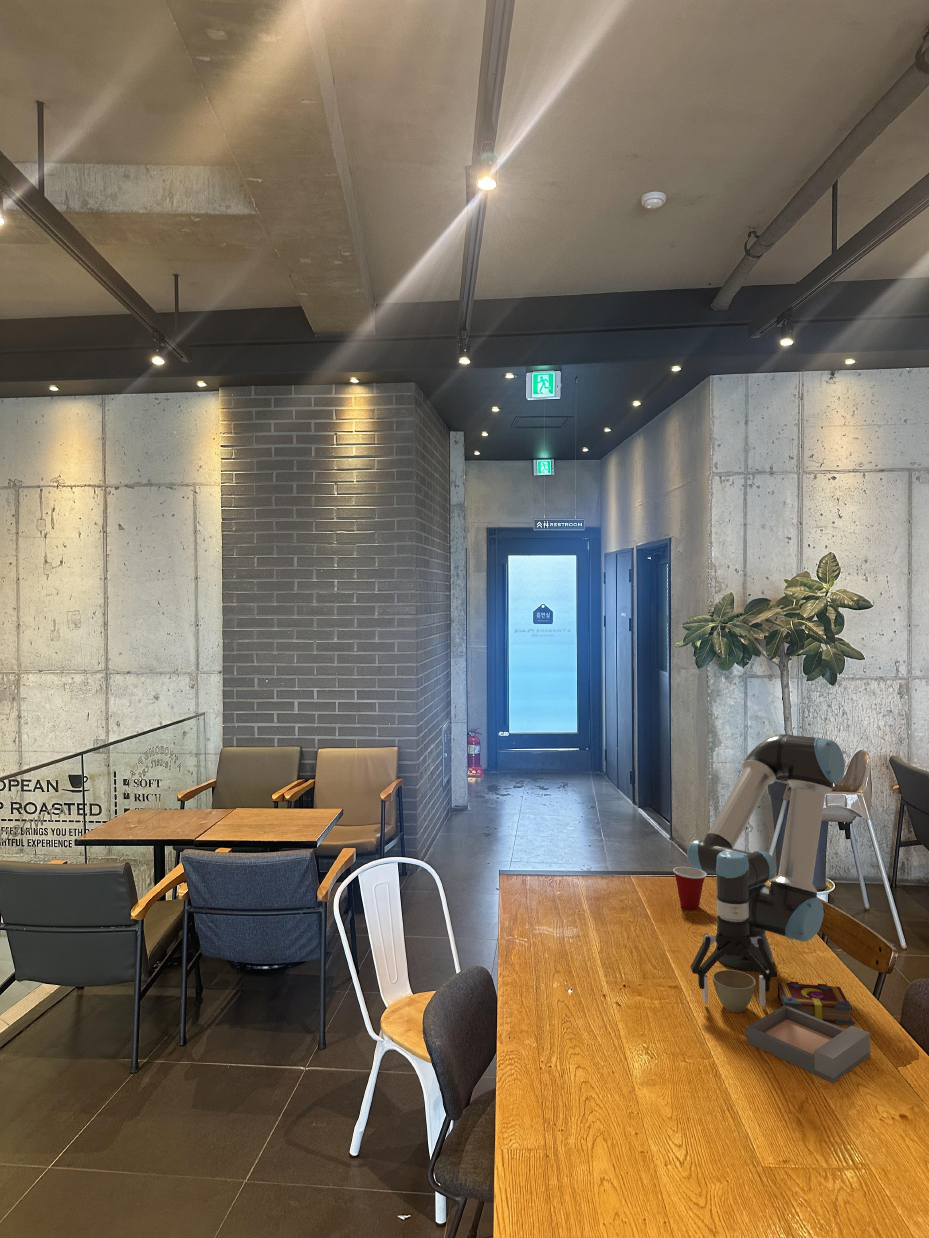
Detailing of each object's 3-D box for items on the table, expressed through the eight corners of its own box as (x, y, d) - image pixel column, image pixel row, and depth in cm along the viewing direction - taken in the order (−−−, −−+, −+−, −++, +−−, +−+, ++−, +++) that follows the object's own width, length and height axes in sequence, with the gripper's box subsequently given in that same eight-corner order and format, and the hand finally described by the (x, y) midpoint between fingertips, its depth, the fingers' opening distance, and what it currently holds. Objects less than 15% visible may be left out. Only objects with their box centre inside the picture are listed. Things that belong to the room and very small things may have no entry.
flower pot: (711, 1013, 191) (711, 984, 191) (714, 995, 200) (714, 967, 200) (755, 1020, 187) (754, 990, 187) (756, 1001, 197) (756, 973, 197)
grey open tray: (784, 1019, 188) (784, 998, 188) (870, 1055, 172) (869, 1032, 172) (746, 1042, 178) (746, 1020, 178) (833, 1082, 162) (833, 1058, 162)
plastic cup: (711, 912, 256) (711, 875, 256) (678, 912, 256) (677, 876, 256) (702, 900, 267) (701, 865, 267) (670, 900, 267) (669, 865, 267)
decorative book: (776, 998, 199) (776, 978, 199) (845, 1003, 195) (845, 983, 195) (785, 1021, 188) (784, 1000, 188) (858, 1027, 184) (857, 1005, 184)
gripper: (683, 920, 192) (684, 1007, 192) (789, 924, 189) (790, 1012, 188) (678, 909, 199) (679, 993, 199) (781, 912, 196) (782, 998, 196)
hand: (733, 1002), depth 194 cm, fingers open, 13 cm apart
